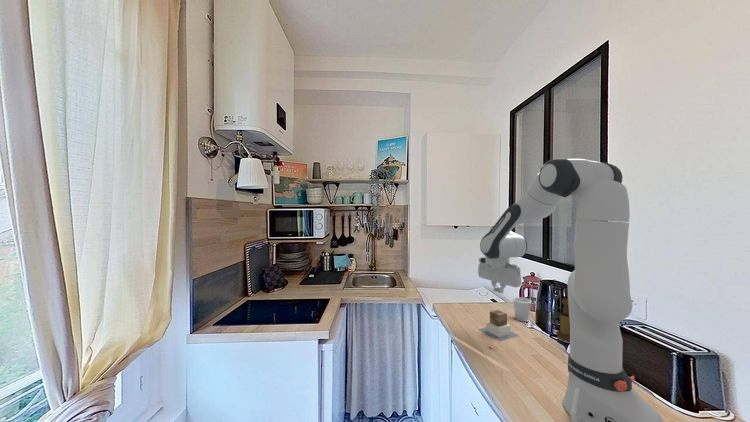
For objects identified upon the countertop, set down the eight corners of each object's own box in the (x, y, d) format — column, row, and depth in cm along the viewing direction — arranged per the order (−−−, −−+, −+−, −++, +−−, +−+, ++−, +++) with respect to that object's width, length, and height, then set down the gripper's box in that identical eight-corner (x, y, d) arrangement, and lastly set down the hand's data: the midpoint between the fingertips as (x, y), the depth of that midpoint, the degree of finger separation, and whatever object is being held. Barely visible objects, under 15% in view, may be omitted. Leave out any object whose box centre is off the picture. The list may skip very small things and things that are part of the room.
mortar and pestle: (568, 345, 111) (568, 301, 111) (552, 338, 117) (553, 297, 117) (578, 342, 113) (578, 300, 113) (562, 335, 119) (563, 295, 119)
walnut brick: (506, 324, 118) (507, 313, 118) (499, 326, 116) (499, 315, 116) (497, 320, 123) (497, 309, 123) (489, 322, 121) (489, 311, 121)
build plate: (519, 337, 117) (519, 335, 117) (500, 343, 111) (500, 341, 111) (496, 327, 128) (496, 324, 128) (477, 331, 122) (477, 329, 122)
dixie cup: (515, 321, 134) (515, 301, 134) (510, 315, 142) (510, 296, 142) (533, 323, 132) (533, 303, 132) (528, 316, 140) (528, 297, 140)
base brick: (510, 334, 118) (510, 325, 118) (499, 337, 115) (499, 328, 115) (496, 327, 124) (497, 319, 124) (486, 330, 121) (486, 322, 121)
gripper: (525, 264, 112) (524, 298, 112) (485, 257, 130) (485, 285, 130) (515, 266, 109) (514, 300, 109) (476, 258, 127) (475, 287, 127)
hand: (498, 292), depth 120 cm, fingers closed
